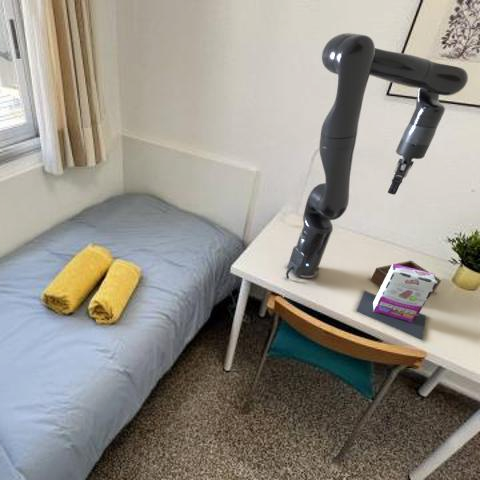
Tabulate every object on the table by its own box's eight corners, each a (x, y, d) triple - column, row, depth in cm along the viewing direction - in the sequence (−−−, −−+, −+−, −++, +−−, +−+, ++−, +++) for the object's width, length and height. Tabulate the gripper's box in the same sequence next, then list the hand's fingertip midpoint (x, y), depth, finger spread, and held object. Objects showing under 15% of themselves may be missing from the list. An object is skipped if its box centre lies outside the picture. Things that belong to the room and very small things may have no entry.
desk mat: (421, 339, 102) (422, 338, 102) (356, 311, 111) (356, 310, 110) (425, 316, 110) (426, 315, 110) (364, 291, 119) (364, 290, 119)
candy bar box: (410, 313, 110) (435, 273, 101) (412, 323, 107) (439, 283, 97) (371, 302, 114) (392, 262, 105) (372, 312, 110) (394, 271, 101)
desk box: (397, 301, 115) (405, 289, 112) (370, 279, 124) (376, 267, 121) (433, 292, 120) (441, 280, 117) (404, 272, 129) (411, 260, 126)
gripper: (405, 132, 110) (384, 179, 119) (398, 142, 101) (376, 192, 110) (432, 137, 107) (409, 186, 116) (428, 148, 97) (403, 200, 106)
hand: (393, 189), depth 113 cm, fingers open, 8 cm apart
